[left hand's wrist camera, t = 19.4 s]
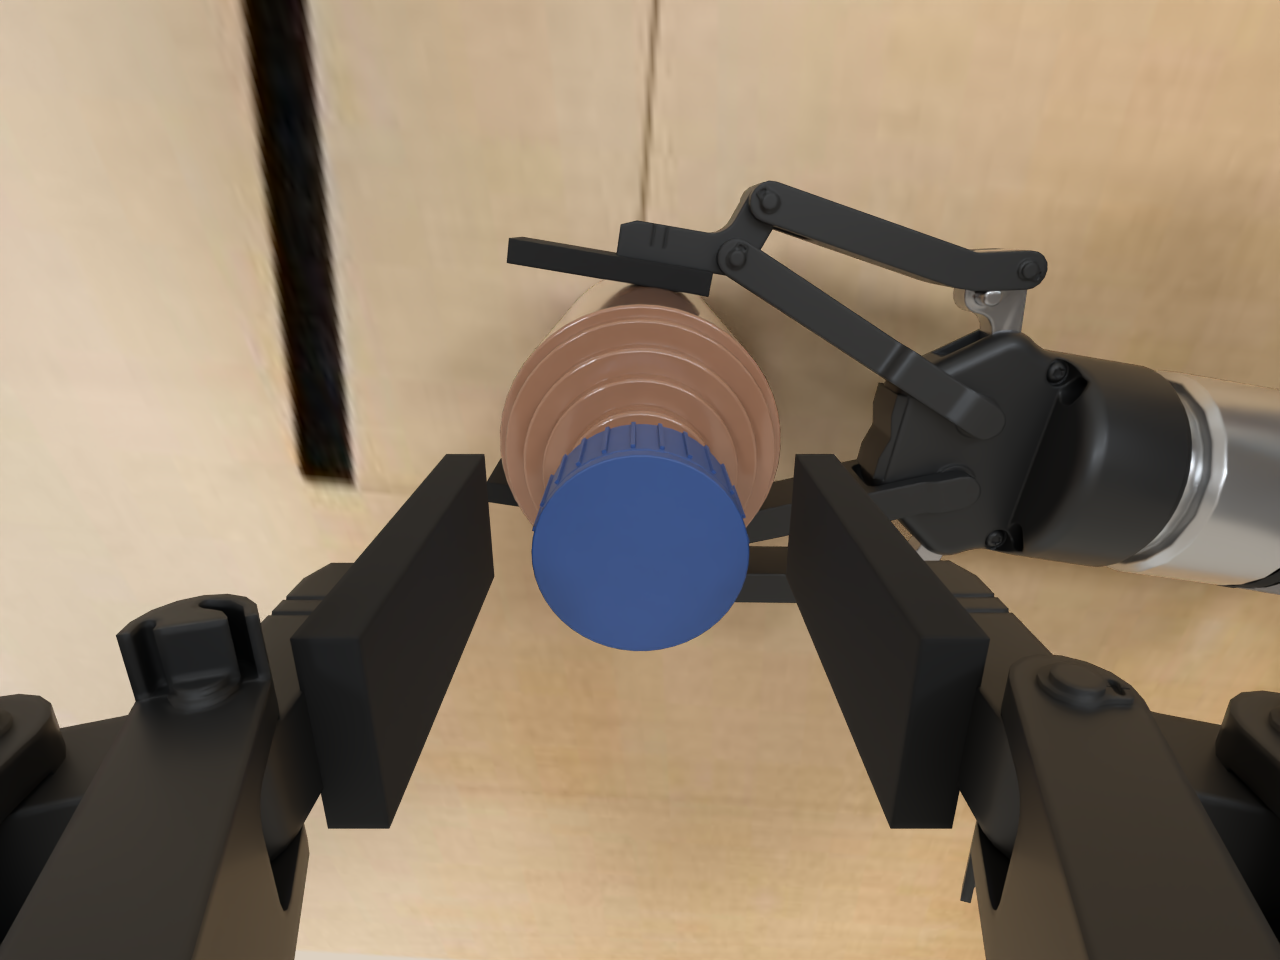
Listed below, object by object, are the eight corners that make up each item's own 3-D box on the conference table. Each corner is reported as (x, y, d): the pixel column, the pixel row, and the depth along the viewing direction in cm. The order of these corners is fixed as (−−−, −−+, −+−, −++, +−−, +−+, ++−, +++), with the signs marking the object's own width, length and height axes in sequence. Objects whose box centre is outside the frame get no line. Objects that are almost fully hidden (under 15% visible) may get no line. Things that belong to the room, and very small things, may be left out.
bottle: (551, 272, 30) (415, 343, 12) (727, 270, 30) (861, 339, 12) (560, 440, 32) (459, 711, 14) (721, 438, 32) (824, 708, 14)
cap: (767, 553, 15) (786, 603, 13) (599, 626, 15) (593, 684, 13) (686, 386, 13) (695, 413, 11) (508, 473, 14) (487, 512, 12)
